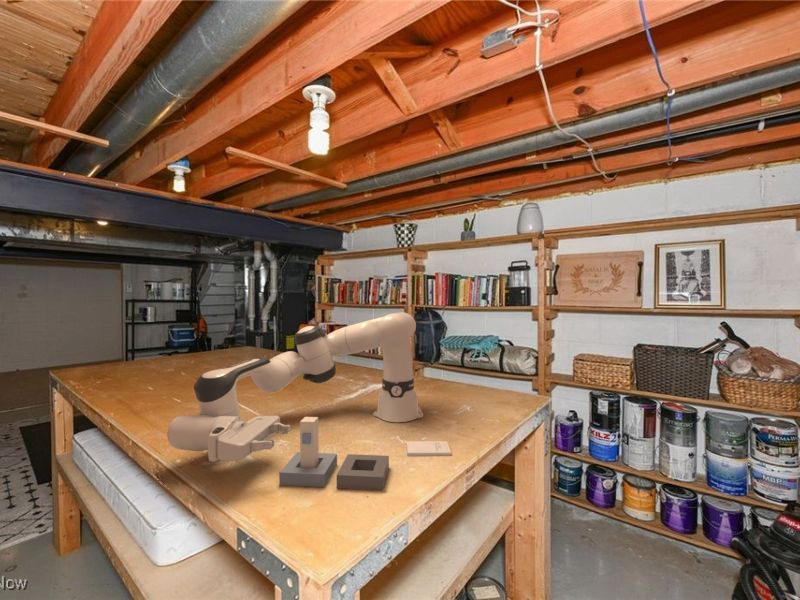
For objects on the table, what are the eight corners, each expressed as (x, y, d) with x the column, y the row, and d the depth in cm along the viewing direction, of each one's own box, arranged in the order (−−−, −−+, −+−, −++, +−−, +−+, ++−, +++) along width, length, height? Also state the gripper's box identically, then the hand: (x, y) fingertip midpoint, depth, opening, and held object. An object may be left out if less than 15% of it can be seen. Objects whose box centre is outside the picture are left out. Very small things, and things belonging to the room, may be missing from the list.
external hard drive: (406, 446, 107) (447, 445, 107) (407, 458, 99) (451, 457, 99) (406, 440, 107) (447, 440, 107) (407, 452, 99) (451, 451, 99)
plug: (305, 470, 91) (305, 416, 90) (318, 471, 90) (318, 417, 90) (299, 479, 86) (298, 422, 86) (313, 479, 86) (312, 423, 86)
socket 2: (347, 465, 93) (347, 454, 93) (388, 467, 92) (388, 455, 92) (336, 487, 82) (336, 475, 82) (382, 490, 81) (382, 477, 81)
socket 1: (297, 463, 95) (297, 452, 95) (336, 464, 94) (336, 453, 94) (279, 484, 84) (279, 472, 84) (324, 487, 83) (324, 474, 83)
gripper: (251, 430, 101) (297, 432, 99) (204, 465, 81) (261, 468, 79) (251, 409, 101) (297, 410, 99) (204, 437, 80) (261, 440, 79)
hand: (281, 436), depth 89 cm, fingers open, 8 cm apart
